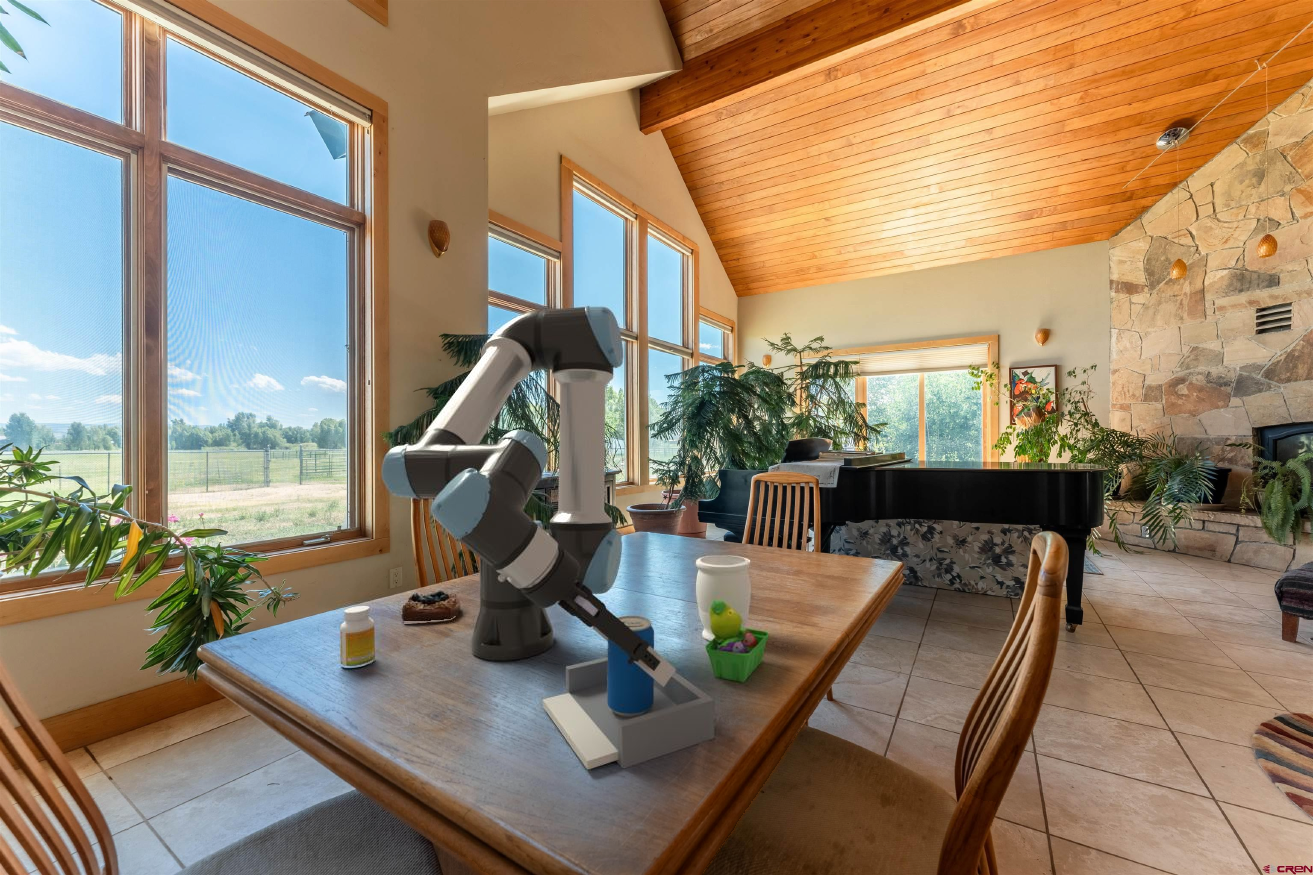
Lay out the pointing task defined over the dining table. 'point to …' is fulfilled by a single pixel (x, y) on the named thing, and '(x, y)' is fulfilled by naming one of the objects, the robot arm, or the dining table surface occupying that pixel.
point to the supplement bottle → (357, 637)
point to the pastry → (431, 607)
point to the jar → (722, 587)
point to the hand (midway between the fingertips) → (646, 660)
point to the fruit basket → (733, 644)
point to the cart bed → (628, 718)
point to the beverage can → (629, 674)
